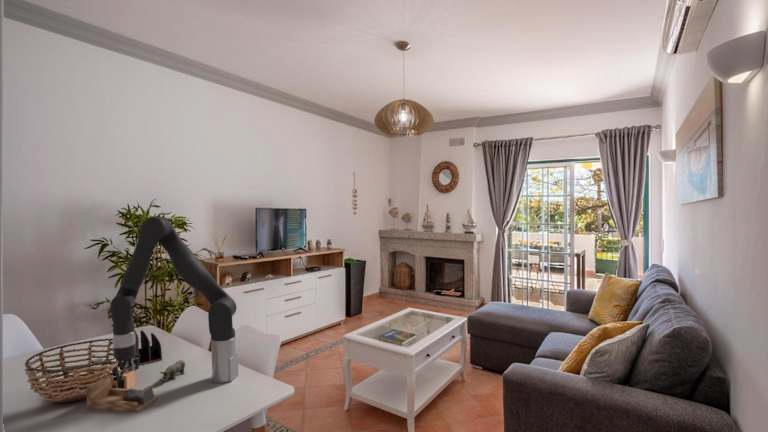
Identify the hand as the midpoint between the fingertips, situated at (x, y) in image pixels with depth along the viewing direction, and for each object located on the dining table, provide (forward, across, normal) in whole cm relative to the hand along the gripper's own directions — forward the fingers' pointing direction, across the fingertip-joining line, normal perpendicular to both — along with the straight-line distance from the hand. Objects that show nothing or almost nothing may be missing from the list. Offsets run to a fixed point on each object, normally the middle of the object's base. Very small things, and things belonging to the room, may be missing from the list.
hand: (126, 385), depth 158 cm
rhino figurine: (+1, +9, -14) cm, 16 cm away
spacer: (+1, 0, 0) cm, 1 cm away
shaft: (-1, -11, -14) cm, 18 cm away
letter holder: (+1, +27, +13) cm, 30 cm away
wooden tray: (+1, -12, -8) cm, 14 cm away
